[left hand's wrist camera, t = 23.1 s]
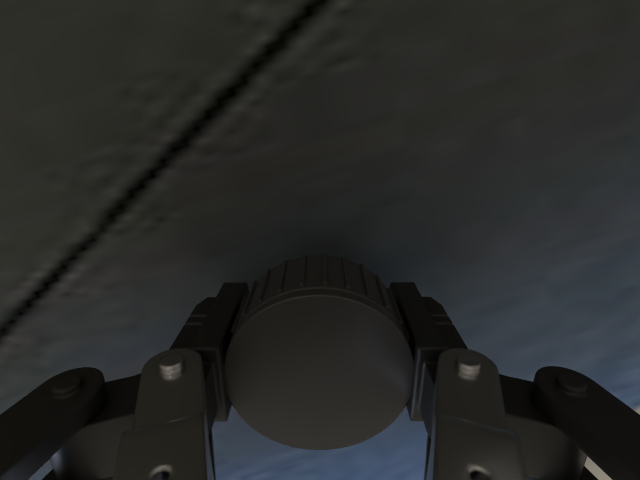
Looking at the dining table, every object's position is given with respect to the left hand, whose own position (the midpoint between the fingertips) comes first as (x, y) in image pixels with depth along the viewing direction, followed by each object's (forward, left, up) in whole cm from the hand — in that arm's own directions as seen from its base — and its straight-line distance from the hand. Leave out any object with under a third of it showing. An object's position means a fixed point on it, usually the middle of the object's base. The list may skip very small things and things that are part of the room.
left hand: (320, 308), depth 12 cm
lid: (0, 0, +3) cm, 3 cm away
